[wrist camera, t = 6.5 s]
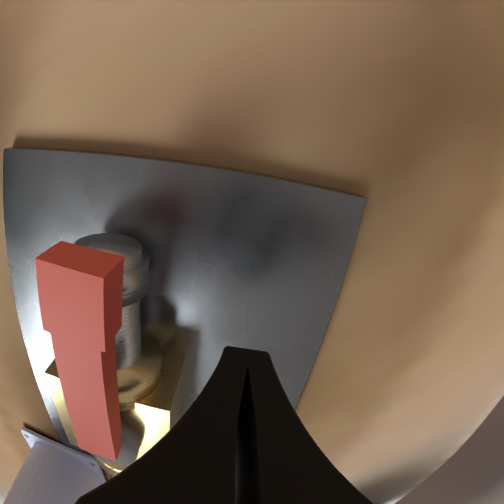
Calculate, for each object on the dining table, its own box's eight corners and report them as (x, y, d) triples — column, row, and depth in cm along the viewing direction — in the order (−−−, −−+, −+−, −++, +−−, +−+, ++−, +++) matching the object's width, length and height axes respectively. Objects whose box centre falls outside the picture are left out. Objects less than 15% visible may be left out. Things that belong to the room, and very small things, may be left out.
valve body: (257, 483, 20) (256, 530, 16) (63, 437, 19) (44, 476, 15) (361, 196, 12) (409, 229, 8) (11, 147, 11) (-54, 162, 7)
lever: (142, 456, 13) (133, 485, 11) (85, 438, 13) (73, 464, 11) (146, 254, 9) (121, 283, 7) (57, 232, 9) (22, 254, 7)
